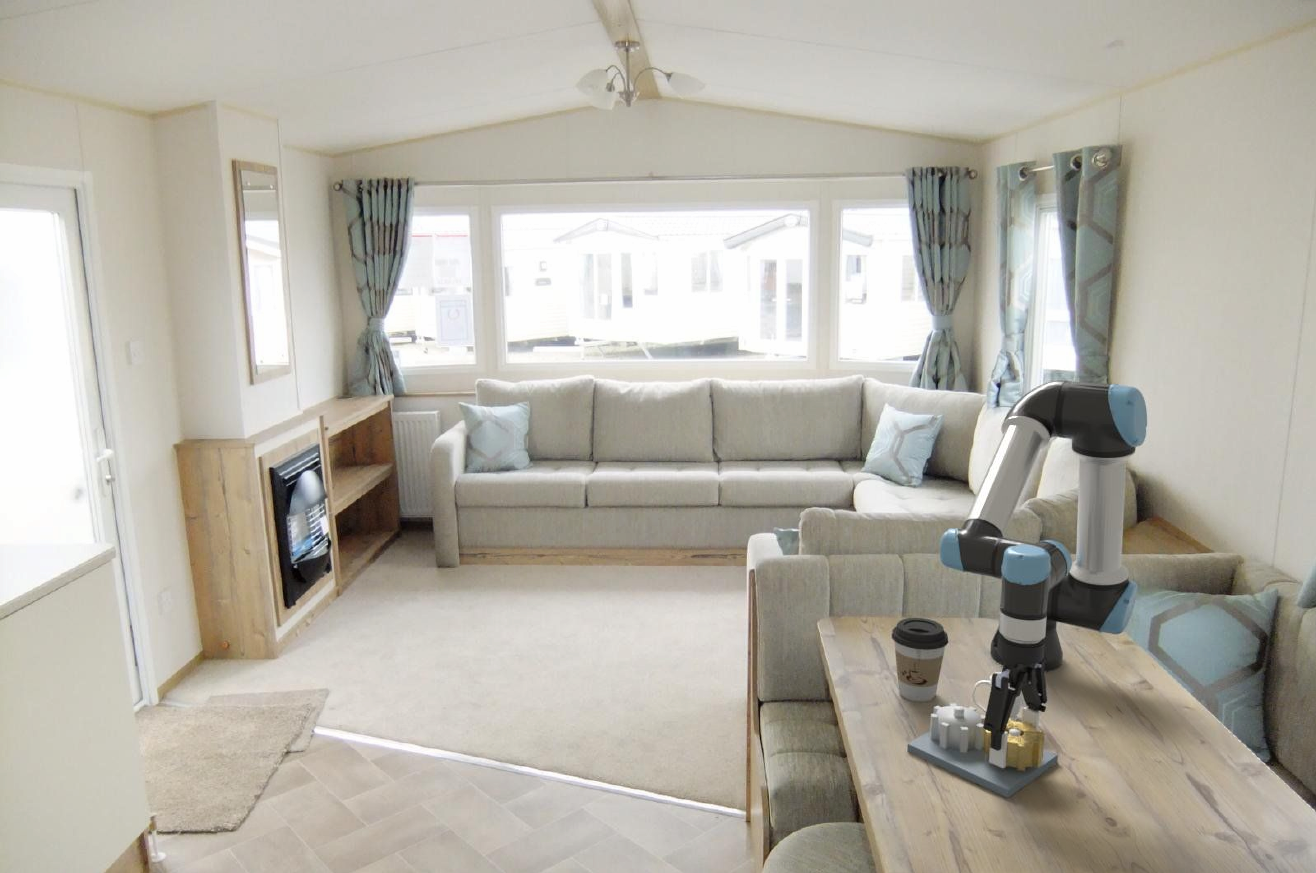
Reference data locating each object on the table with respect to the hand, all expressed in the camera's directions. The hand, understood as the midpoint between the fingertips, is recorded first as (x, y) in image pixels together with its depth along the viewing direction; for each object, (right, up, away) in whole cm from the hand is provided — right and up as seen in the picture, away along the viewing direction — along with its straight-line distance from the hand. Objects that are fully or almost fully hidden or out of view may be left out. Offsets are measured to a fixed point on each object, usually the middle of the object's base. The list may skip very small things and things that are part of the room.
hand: (1013, 753), depth 165 cm
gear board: (-4, -2, +5) cm, 7 cm away
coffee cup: (-9, +2, +29) cm, 31 cm away
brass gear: (0, 0, 0) cm, 0 cm away
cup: (+4, +1, +20) cm, 20 cm away
